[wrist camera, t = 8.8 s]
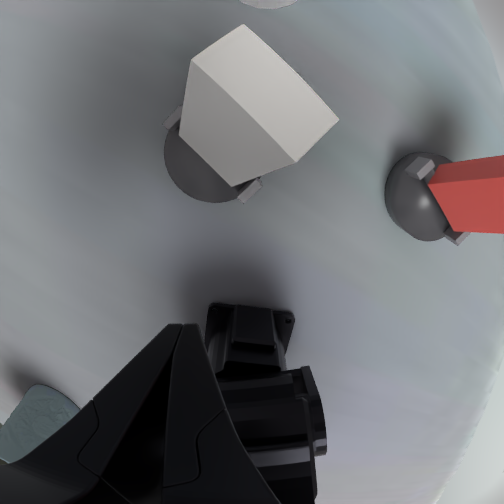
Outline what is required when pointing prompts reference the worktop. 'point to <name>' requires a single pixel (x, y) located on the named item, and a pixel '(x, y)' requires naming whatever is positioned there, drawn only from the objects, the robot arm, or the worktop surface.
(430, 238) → the dark rounded piece
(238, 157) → the block
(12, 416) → the grey green cup
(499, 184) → the block
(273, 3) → the shot glass
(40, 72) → the worktop surface
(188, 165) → the grey switch base
